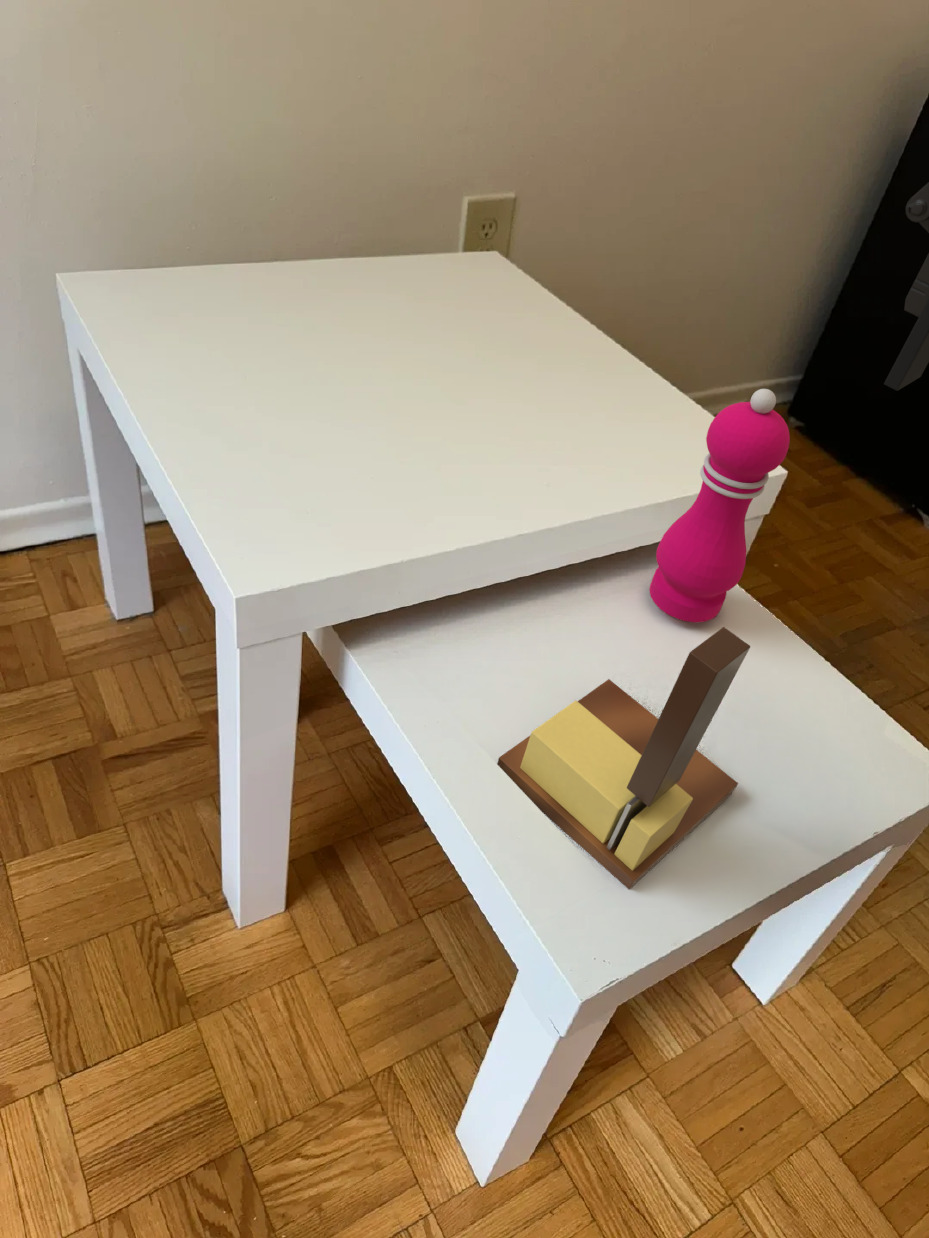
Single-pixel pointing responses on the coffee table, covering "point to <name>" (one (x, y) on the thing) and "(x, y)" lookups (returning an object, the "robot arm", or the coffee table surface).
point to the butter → (599, 781)
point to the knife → (683, 722)
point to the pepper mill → (719, 511)
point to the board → (636, 729)
